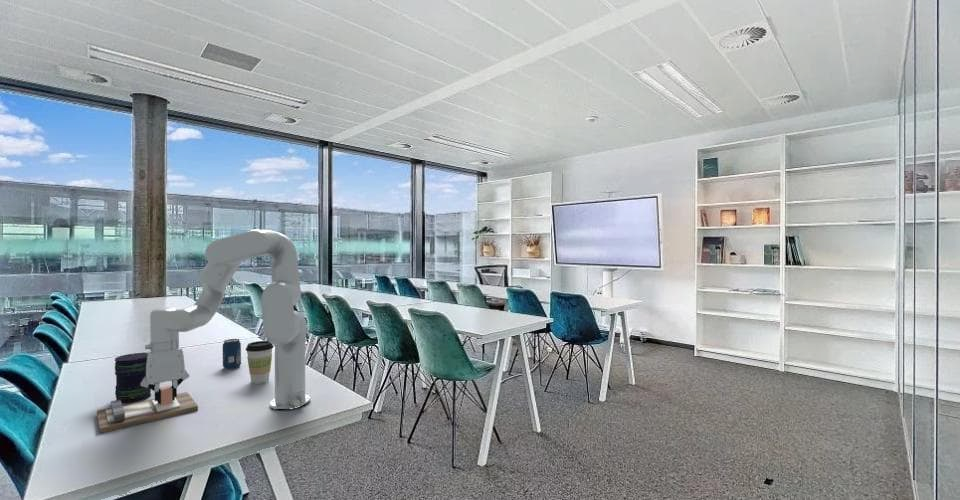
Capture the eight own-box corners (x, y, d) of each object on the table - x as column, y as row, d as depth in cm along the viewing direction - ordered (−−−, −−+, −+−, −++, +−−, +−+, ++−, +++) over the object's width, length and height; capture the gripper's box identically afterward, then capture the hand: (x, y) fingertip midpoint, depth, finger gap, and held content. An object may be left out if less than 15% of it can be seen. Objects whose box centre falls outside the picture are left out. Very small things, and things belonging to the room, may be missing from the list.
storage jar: (156, 396, 152) (155, 355, 151) (122, 406, 143) (121, 361, 143) (143, 391, 157) (143, 351, 156) (110, 400, 148) (109, 357, 148)
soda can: (223, 366, 188) (223, 339, 188) (241, 364, 191) (241, 337, 191) (221, 370, 182) (221, 342, 182) (240, 368, 185) (240, 341, 185)
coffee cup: (253, 387, 162) (252, 347, 161) (241, 381, 168) (240, 344, 167) (278, 380, 169) (278, 342, 169) (266, 375, 175) (266, 339, 175)
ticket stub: (180, 406, 139) (180, 390, 139) (157, 411, 135) (157, 394, 134) (173, 396, 147) (173, 381, 147) (152, 401, 143) (151, 385, 143)
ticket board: (198, 410, 140) (197, 398, 139) (99, 433, 123) (99, 420, 123) (187, 395, 152) (186, 385, 152) (96, 415, 136) (96, 402, 136)
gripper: (134, 352, 132) (135, 411, 133) (196, 343, 143) (197, 397, 144) (131, 348, 137) (132, 404, 138) (192, 339, 149) (192, 392, 149)
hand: (165, 400), depth 141 cm, fingers closed on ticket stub, 3 cm apart
